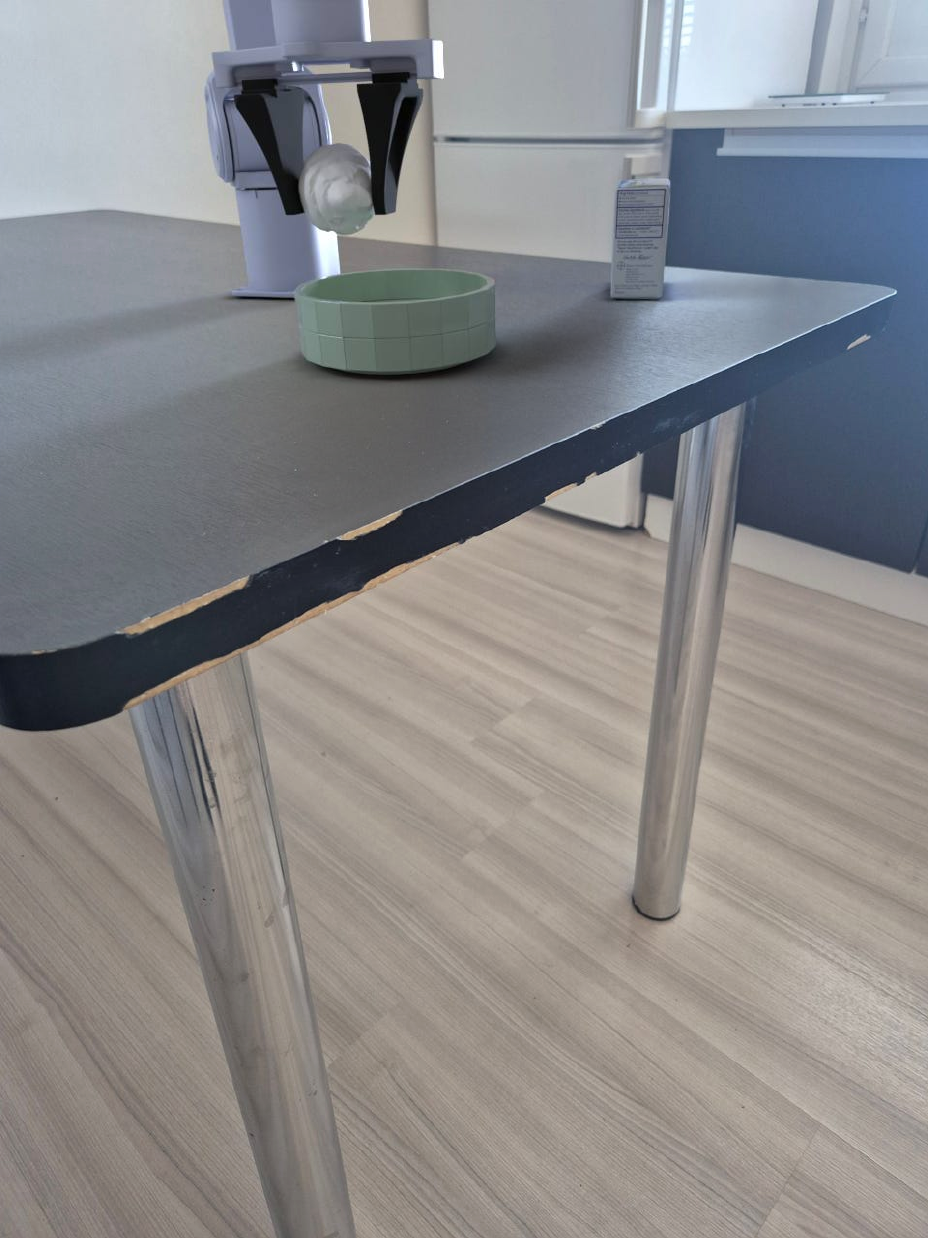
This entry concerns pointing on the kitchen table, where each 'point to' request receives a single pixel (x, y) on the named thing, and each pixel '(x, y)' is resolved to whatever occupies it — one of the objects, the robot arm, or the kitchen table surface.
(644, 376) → the kitchen table surface
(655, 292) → the medicine box
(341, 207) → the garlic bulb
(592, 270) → the kitchen table surface
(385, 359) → the bowl
